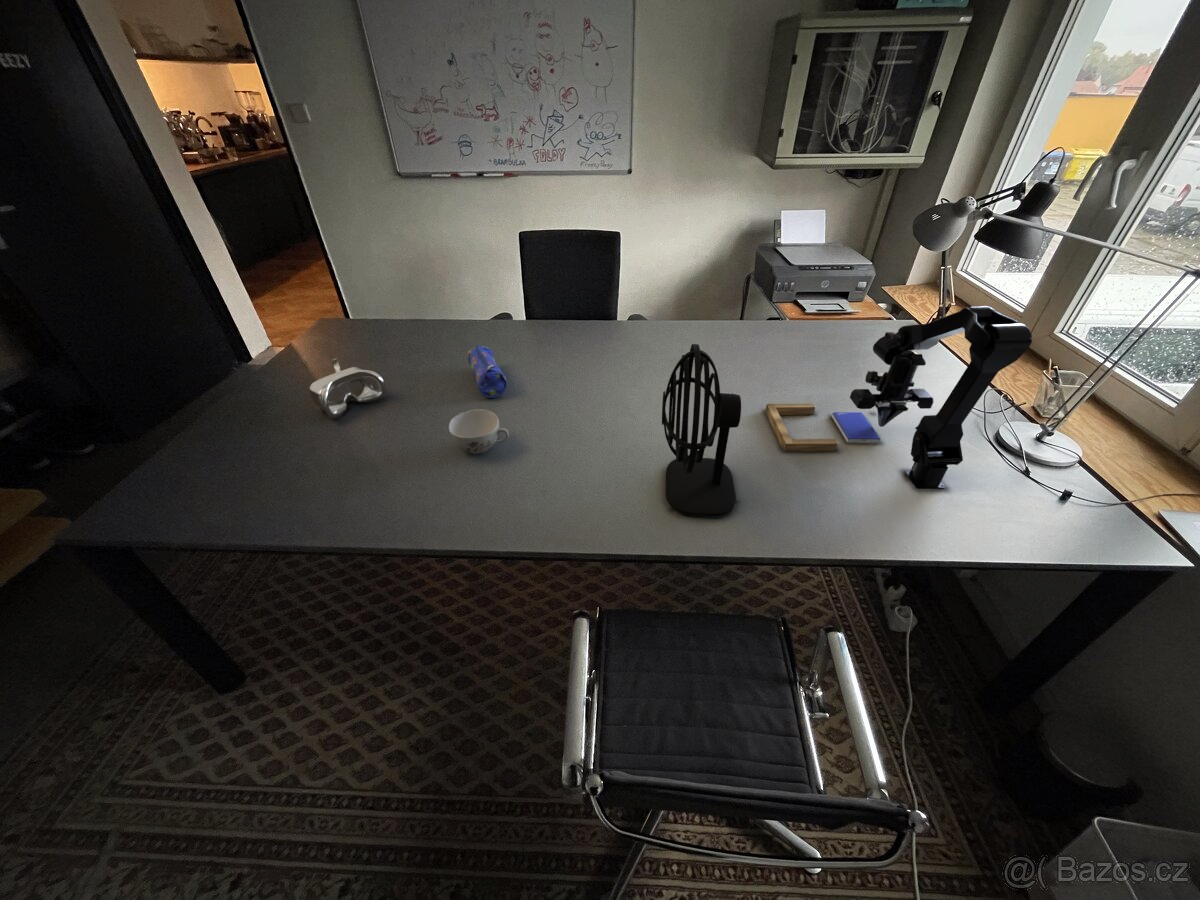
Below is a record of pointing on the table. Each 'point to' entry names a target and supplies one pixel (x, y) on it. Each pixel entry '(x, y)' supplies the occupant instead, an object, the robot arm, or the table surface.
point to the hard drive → (855, 427)
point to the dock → (783, 435)
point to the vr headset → (346, 389)
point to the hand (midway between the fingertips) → (880, 425)
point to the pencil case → (486, 372)
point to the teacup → (476, 430)
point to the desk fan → (692, 477)
